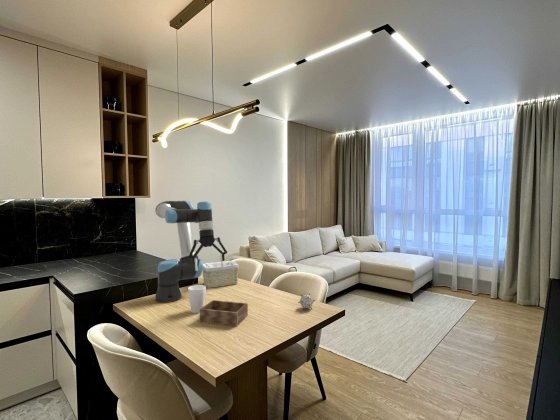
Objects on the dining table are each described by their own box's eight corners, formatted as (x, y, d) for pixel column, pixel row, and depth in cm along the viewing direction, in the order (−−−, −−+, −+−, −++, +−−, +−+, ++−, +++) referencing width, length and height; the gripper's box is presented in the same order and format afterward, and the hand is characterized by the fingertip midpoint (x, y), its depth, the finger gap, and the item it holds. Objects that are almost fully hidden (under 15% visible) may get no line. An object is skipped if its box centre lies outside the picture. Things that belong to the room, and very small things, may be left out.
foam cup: (201, 314, 159) (200, 290, 158) (185, 313, 160) (184, 289, 160) (208, 308, 168) (208, 285, 167) (193, 307, 170) (193, 284, 169)
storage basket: (206, 289, 205) (205, 267, 204) (201, 283, 219) (200, 263, 219) (239, 284, 215) (239, 264, 215) (232, 279, 230) (232, 260, 229)
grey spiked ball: (302, 315, 167) (292, 300, 168) (311, 306, 173) (301, 291, 174) (312, 311, 161) (301, 296, 162) (320, 302, 167) (310, 287, 168)
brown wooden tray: (199, 322, 149) (199, 309, 149) (213, 311, 163) (213, 300, 163) (237, 326, 144) (237, 313, 144) (247, 315, 158) (247, 303, 157)
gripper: (181, 231, 159) (184, 272, 156) (229, 226, 162) (232, 266, 159) (184, 232, 166) (186, 271, 163) (229, 228, 170) (233, 265, 167)
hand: (209, 269), depth 161 cm, fingers open, 13 cm apart
